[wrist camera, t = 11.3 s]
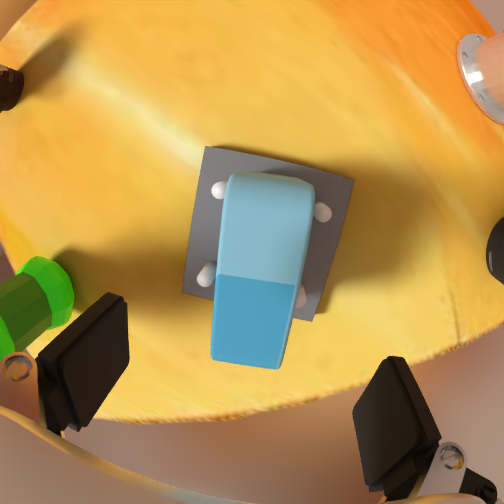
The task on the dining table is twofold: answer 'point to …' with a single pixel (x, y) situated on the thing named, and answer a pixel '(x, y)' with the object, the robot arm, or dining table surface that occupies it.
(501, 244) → the pen holder
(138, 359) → the dining table surface
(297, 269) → the blue rounded block
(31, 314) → the plastic bottle
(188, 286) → the pin tray
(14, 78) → the coffee mug
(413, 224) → the dining table surface
